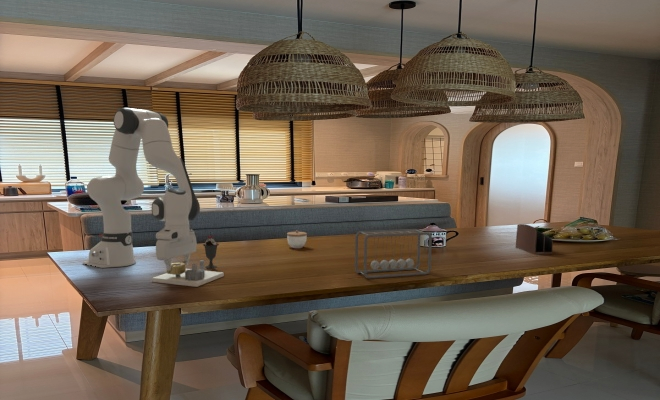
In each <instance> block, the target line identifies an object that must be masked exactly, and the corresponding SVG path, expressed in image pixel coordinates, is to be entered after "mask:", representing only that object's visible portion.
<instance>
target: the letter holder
mask: <svg viewBox="0 0 660 400" xmlns="http://www.w3.org/2000/svg"><path fill="white" fill-rule="evenodd" d="M553 246H554V242H553V239H552V238H551V237H549V236H547V235H545V234H544V233H542V232H540V231H538V229H537V228H536V227H534V226H531V225H529V224H525V223H519V224H518V223H517V226H516V238H515V249H518V248H519V249H518V250H521V251H524V252H527V253H530V254H532V255H553V253H554V251H553V249H554V247H553Z"/></svg>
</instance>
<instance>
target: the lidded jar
mask: <svg viewBox="0 0 660 400" xmlns="http://www.w3.org/2000/svg"><path fill="white" fill-rule="evenodd" d="M307 236H308V233H307V232H305V231H299V230H298V229H296V230H295V231H289V232H287V233H286V238H287V244H288V245H289V246H290V248H292V249H302V248H303V247H304V246H305V245H306V243H307Z"/></svg>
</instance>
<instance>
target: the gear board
mask: <svg viewBox="0 0 660 400" xmlns="http://www.w3.org/2000/svg"><path fill="white" fill-rule="evenodd" d="M176 263H177V264H175V266H177V265H180V263H181V262H176ZM191 265H192V266H191V267H192V268H186V271H185V273H182V274H175V275H173V274H167V272H166V273H164V274H160V275H157V276H154V277H151V282H153V283H159V284H160V283H161V284H169V285H177V286H186V287H187V286H188V287H195V288H196V287H197V288H198V287H200V286H202V285H205V284H208V283H210V282H212V281H215V280H218V279H220V278H223V277H224V276H225V274H224V271H223V272H222V271H213V270H205V269H206V268H205V267H206V265H205V260H203V259H202V260H201V259H200V260H199V268H198V263H192V264H191Z"/></svg>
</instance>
